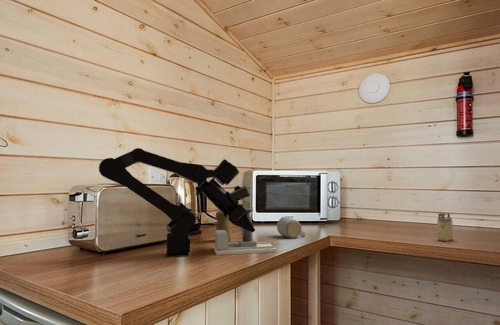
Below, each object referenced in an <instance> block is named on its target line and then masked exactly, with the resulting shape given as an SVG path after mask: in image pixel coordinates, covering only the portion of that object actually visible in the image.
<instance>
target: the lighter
mask: <svg viewBox="0 0 500 325" xmlns="http://www.w3.org/2000/svg"><path fill="white" fill-rule="evenodd" d="M437 215H438V217H437V221H436V223H437V224H436V225H437V241H445V242H447V241H453V240H454V236H453V235H454V233H453V232H454V230H453V229H454V227H453V218H452V217H451V215H450V213H449V212H447V213H445V212H440V213H438V214H437ZM446 215H447V216H446ZM445 216H446V217H445Z"/></svg>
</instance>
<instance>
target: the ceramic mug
mask: <svg viewBox="0 0 500 325" xmlns="http://www.w3.org/2000/svg"><path fill="white" fill-rule="evenodd" d="M302 228H303V227H302V225H301V223H300V222H299V221H298V220H296V219H294V218H292V217H290V216H282V217H280V219H279V220H278V221H277V223H276V229H277V232H278V233H279V235H281V236H284V237H286V238H288V239H296V238H298V237H299V236H303V237H306V235H307V232H305V231H303V230H302Z"/></svg>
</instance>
